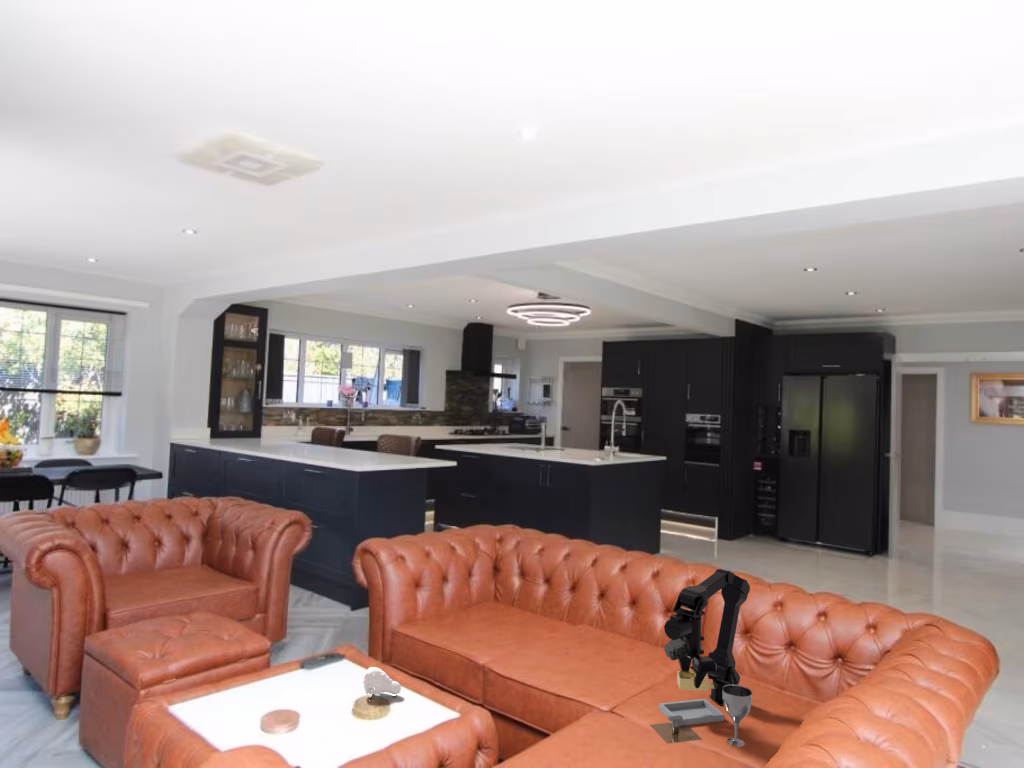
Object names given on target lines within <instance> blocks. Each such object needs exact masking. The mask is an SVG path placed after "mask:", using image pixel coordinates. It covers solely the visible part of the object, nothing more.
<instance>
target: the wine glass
mask: <svg viewBox="0 0 1024 768" xmlns="http://www.w3.org/2000/svg"><path fill="white" fill-rule="evenodd" d="M722 694H723V704H724V705H723V708H724V710H725V711H726V713H727V714H728V716H729V717H730V719H731V720H732V722H733V727H734V737H731V738H728V739H726V743H728V744H729V745H731V746H733V747H736V748H737V747H738V748H739V747H744V746H745V744H746V743H745V742H744V740H742V739H740V738H738V735H739V734H738V732H739V731H738V730H739V726H740V723H741V721H742V720H743V719H745V718H746V717H747V716H748V715H749V713H750V711H751V708H752V701H753V692H752V690H751V689H750V688H748V687H746V686H743V685H742V684H741V685H740V684H738V685H734V684H730V685H725V686H724V687H723V692H722Z"/></svg>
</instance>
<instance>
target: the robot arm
mask: <svg viewBox="0 0 1024 768" xmlns="http://www.w3.org/2000/svg"><path fill="white" fill-rule="evenodd" d="M750 587H751V585H750V583H749V582H748V580H747V579H745V578H741V577H740V576H738V575H736V574H735V573H734V572H732V571H730V570H727V569H723V568H717V569H716V570H715V572H714V573H712V574H711V575H710V576H709V577H707V578H706V579H704V580H703V581H702V582H700V583H698V584H696V585H690V586H686V587H684V588H682V589H681V591H680V592H679V593H678V596H677V599H676V601H675V603H674V607H672V608H673V609H672V613H675V614H671V615H670V618H669V620H666V622H665V624H664V627H663V629H664V632H665V635H666V636H667V638H669V639H670V640H669V641H668V643H665V644H664V645H663V648H664V649H663V650H664V652H665V656H666V657H668V658H669V659H670V660H671V661H677V660H678V665H679V668H680V671H690V669H691V671H694V682H695V688H699V687H700V685H701V683H702V681H703V680H704V678H705V676H706V675H707V677H708V680H712V683H713V684H714V689H710V690H711V691H710V695H708V696H709V698H710V699H711V700H712V701H714V702H716V704H718V705H719V706H724V704H723V694H722V692H723V687H724V686H725V685H730V684H734V685H740V682H741V681H740V680H741V676H740V674H739V673H738V671H737V670H736V659H735V657H734V654H733V649H734V643H735V636H736V631H737V625H738V619H739V615H740V610H741V606H743V604H744V603H745V602H746V601H747V599H748V597H749V596H748V595H749V593H750V590H751V588H750ZM719 591H720V593H721V597H722V599H723V602H724V605H723V609H722V615H721V621H720V627H719V631H718V632H719V633H718V637H717V643H716V647H715V649H713V651H710V652H709V653H708V655H705V650H704V649H702V641H705V636H703V635H702V619H703V618H702V617H703V616H705V615H706V612H705V611H704V609H705V608H706V607H707V606H708V603H709V599H710V598H711V597H712V596H714V595H715V594H717V593H718V592H719ZM701 655H705V656H701Z"/></svg>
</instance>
